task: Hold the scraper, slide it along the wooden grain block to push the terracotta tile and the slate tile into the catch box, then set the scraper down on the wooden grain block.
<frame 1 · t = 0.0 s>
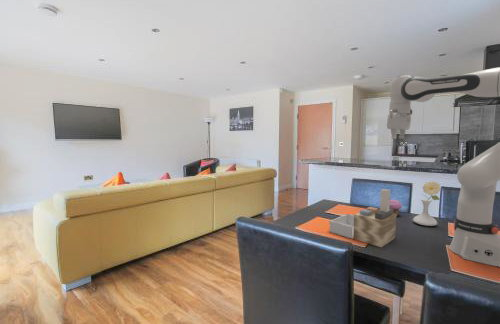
hand: (397, 138, 126), 48 cm above the table, tool pointing down, fingers open, 8 cm apart
flower in vase: (426, 225, 143), on the table
wooden grain block: (374, 238, 123), on the table
scraper: (384, 216, 119), point 12 cm above the table, touching wooden grain block
catch box: (349, 231, 133), on the table
cupcake: (392, 215, 160), on the table
terracotta tile: (372, 211, 127), point 12 cm above the table, touching wooden grain block
slate tile: (365, 214, 122), point 12 cm above the table, touching wooden grain block
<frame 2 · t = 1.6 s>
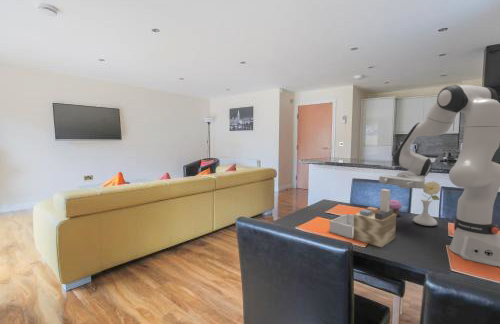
hand: (395, 183, 126), 26 cm above the table, tool horizontal, fingers open, 8 cm apart
nothing on the table moved.
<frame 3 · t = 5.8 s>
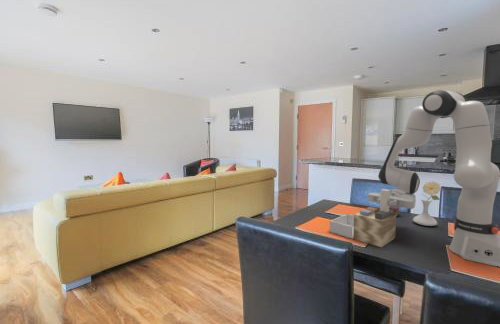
hand: (384, 202, 118), 19 cm above the table, tool horizontal, fingers closed on scraper, 3 cm apart
scraper: (384, 216, 119), point 12 cm above the table, touching wooden grain block, gripper
everything else where it was.
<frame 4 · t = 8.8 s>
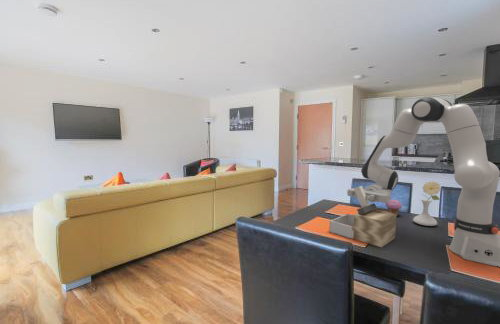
hand: (361, 197, 126), 19 cm above the table, tool horizontal, fingers closed on scraper, 4 cm apart
scraper: (368, 211, 125), point 13 cm above the table, tilted 27°, touching wooden grain block, gripper
terracotta tile: (353, 225, 135), point 2 cm above the table, tilted 180°, touching catch box
slate tile: (342, 227, 132), point 2 cm above the table, tilted 180°, touching catch box
everything else where it was.
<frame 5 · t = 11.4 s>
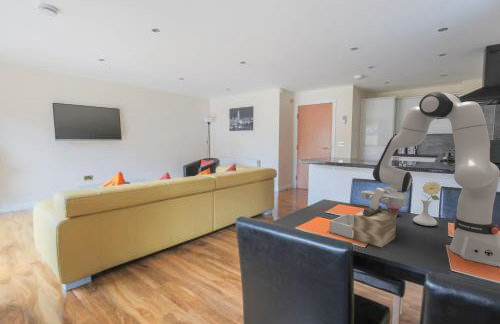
hand: (375, 200, 121), 19 cm above the table, tool horizontal, fingers closed on scraper, 3 cm apart
scraper: (371, 212, 124), point 12 cm above the table, tilted 17°, touching wooden grain block, gripper
everything else where it was.
when the fingers open (19 cm above the table, at t = 11.6 s): scraper stays where it is, resting on wooden grain block.
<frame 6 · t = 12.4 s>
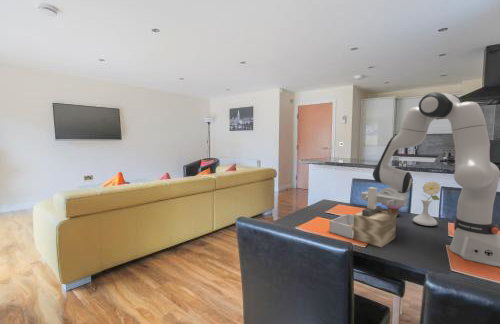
hand: (376, 201, 121), 19 cm above the table, tool horizontal, fingers open, 8 cm apart
scraper: (371, 213, 124), point 12 cm above the table, touching wooden grain block
everything else where it was.
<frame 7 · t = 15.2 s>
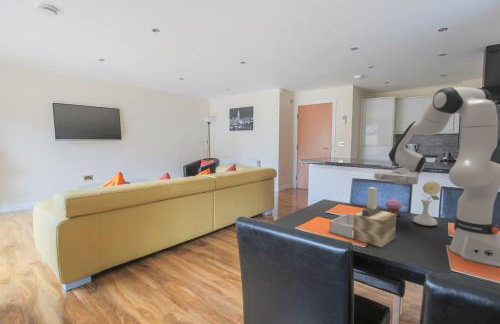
hand: (389, 179, 129), 28 cm above the table, tool horizontal, fingers open, 8 cm apart
nothing on the table moved.
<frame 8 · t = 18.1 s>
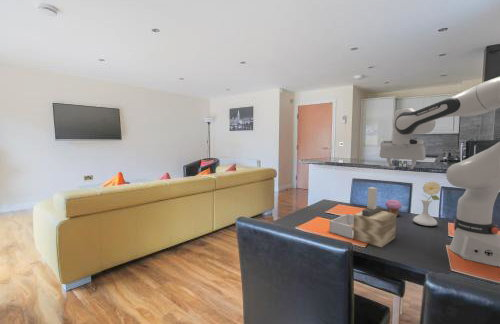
hand: (400, 168, 130), 33 cm above the table, tool pointing down, fingers open, 8 cm apart
nothing on the table moved.
at the end: terracotta tile inside the target area (3.6 cm from its centre), point 2.0 cm above the table; slate tile inside the target area (4.0 cm from its centre), point 2.0 cm above the table; the gripper is holding nothing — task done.
